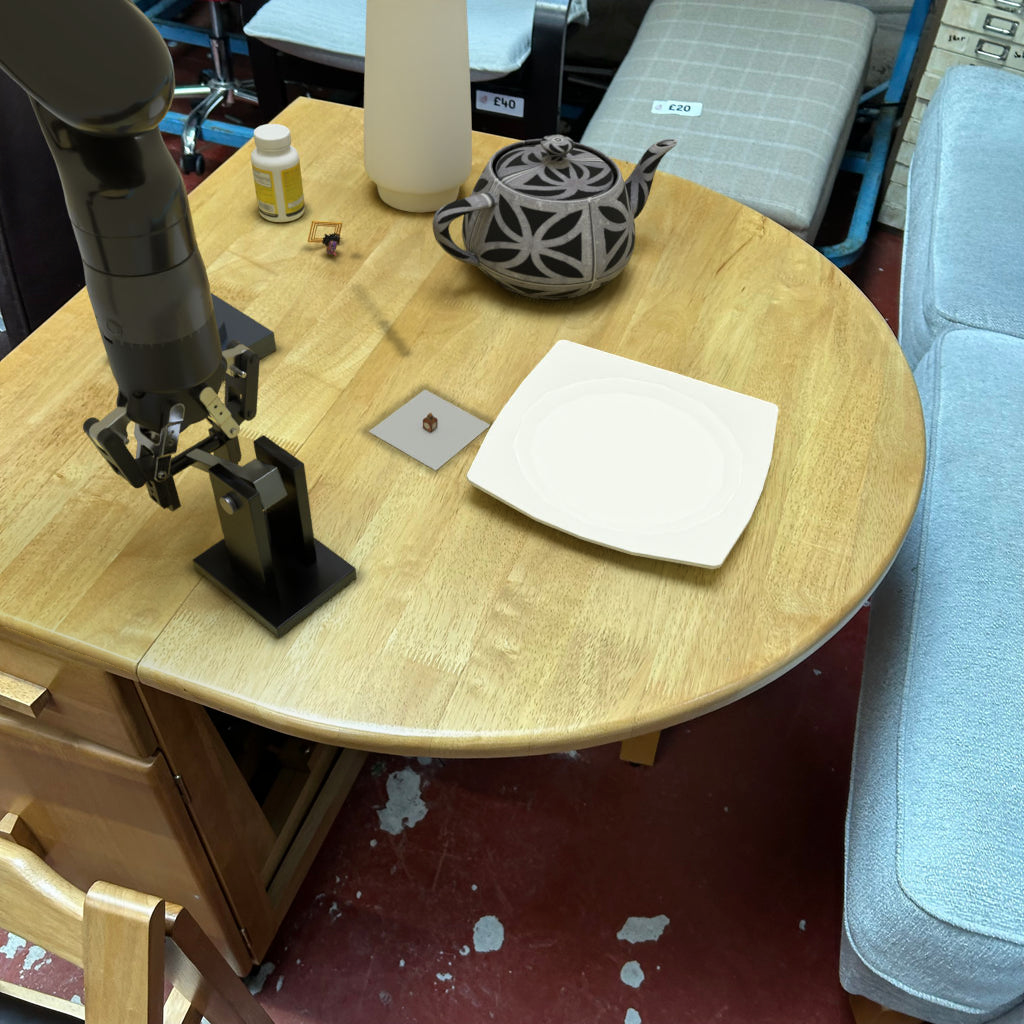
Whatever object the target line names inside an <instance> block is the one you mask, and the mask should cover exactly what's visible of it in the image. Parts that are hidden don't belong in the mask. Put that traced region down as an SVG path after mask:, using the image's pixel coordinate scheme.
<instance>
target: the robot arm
mask: <svg viewBox="0 0 1024 1024" xmlns="http://www.w3.org/2000/svg"><path fill="white" fill-rule="evenodd" d="M0 69H1V70H2V71H3V72H4V73H5V74H6V75H8V76H9V77H10V79H12V80H13V81H14V82H15V83H17V85H19V87H21V88H22V89H23V90H24V91H25V92H26V94H27V95H28V98H29V101H30V103H31V106H32V109H33V111H34V113H35V117H36V119H37V121H38V124H39V126H40V129H41V131H42V134H43V136H44V138H45V141H46V143H47V145H48V148H49V151H50V153H51V155H52V157H53V160H54V162H55V165H56V169H57V172H58V175H59V179H60V182H61V186H62V191H63V195H64V201H65V206H66V210H67V213H68V216H69V220H70V223H71V226H72V230H73V233H74V236H75V240H76V242H77V247H78V250H79V253H80V256H81V257H80V258H81V261H82V265H83V266H82V267H83V272H84V273H83V274H84V281H85V287H86V291H87V294H88V298H89V301H90V304H91V308H92V310H93V314H94V317H95V321H96V324H97V327H98V331H99V334H100V337H101V341H102V343H103V347H104V350H105V353H106V357H107V360H108V364H109V366H110V371H111V373H112V375H113V377H114V380H115V382H116V384H117V388H118V391H117V396H116V400H115V401H116V402H115V403H116V408H114V409H113V410H112V411H111V412H109V413H108V414H106V416H104V417H103V418H102V419H101V420H99V419H98V418H97V417H94V416H92V417H88V418H86V420H84V422H83V424H82V430H83V431H84V433H85V434H86V436H87V437H88V439H89V440H90V441H91V443H92V444H93V445H94V447H95V448H96V449H97V450H98V452H99V453H100V455H101V456H102V458H103V459H104V460H105V462H106V463H107V464H108V466H109V467H110V468H111V470H112V471H113V473H115V474H116V475H118V476H119V477H121V478H122V479H124V481H126V482H128V483H129V485H130V486H131V487H133V488H134V489H141V488H142V487H144V486H145V487H146V490H147V494H148V496H149V498H150V499H151V500H152V501H153V502H154V503H156V505H158V506H160V507H161V508H162V509H163V510H166V509H168V510H169V511H170V512H172V513H173V512H175V511H177V510H178V509H179V508H181V507H182V504H181V501H180V500H181V499H180V497H179V493H178V490H177V486H176V482H175V478H174V476H173V475H172V474H170V473H169V470H170V463H171V458H172V455H175V454H176V453H177V452H178V444H179V438H180V434H181V433H183V432H184V431H186V430H187V429H188V428H189V427H190V426H192V425H194V424H197V423H200V422H202V421H204V420H206V422H207V423H208V424H209V425H210V426H211V427H210V428H208V429H207V431H208V435H209V436H210V435H212V434H215V435H217V436H218V437H219V439H220V440H221V442H222V447H220V448H219V449H217V450H215V451H214V452H212V453H213V455H215V456H217V457H220V458H222V459H225V460H227V461H230V462H232V463H235V464H237V465H239V463H240V462H241V460H242V451H241V445H240V440H239V434H240V431H241V427H240V426H241V425H242V424H243V423H244V422H245V421H246V422H251V421H252V420H254V419H255V417H256V416H257V413H258V395H259V380H260V379H259V376H260V361H261V359H260V357H259V355H258V354H257V353H255V352H254V351H252V350H250V349H249V348H247V347H246V346H244V345H243V344H241V343H240V342H238V341H237V340H232V341H231V342H229V343H228V345H227V348H226V350H225V351H222V347H221V342H220V337H219V332H218V327H217V322H216V317H215V312H214V307H213V301H212V296H211V293H212V292H211V284H210V281H209V277H208V276H209V275H208V272H207V268H206V265H205V261H204V259H203V257H202V254H201V251H200V248H199V244H198V241H197V235H196V231H195V225H194V219H193V216H192V211H191V205H190V200H189V196H188V193H187V187H186V184H185V180H184V178H183V175H182V173H181V170H180V168H179V166H178V164H177V161H176V160H175V159H174V157H173V155H172V153H171V152H170V150H169V148H168V146H167V145H166V142H165V140H164V138H163V135H162V133H161V129H160V125H159V124H161V122H162V121H163V120H164V118H165V117H166V116H167V114H168V112H170V108H171V106H172V104H173V101H174V98H175V97H174V96H175V92H176V91H175V89H176V73H175V67H174V63H173V58H172V55H171V53H170V50H169V48H168V45H167V43H166V41H165V39H164V37H163V36H162V34H161V32H160V31H159V30H158V28H157V27H156V26H155V25H154V23H153V22H152V21H151V20H150V19H149V17H147V16H146V15H145V13H144V12H143V11H142V10H141V8H139V7H138V6H137V5H136V4H135V3H134V1H133V0H0ZM224 377H225V379H224ZM223 379H224V380H223ZM223 381H224V403H223V401H222V400H221V398H219V393H220V389H221V387H222V385H223ZM131 422H132V423H134V430H133V436H134V439H135V440H136V450H135V452H136V453H135V457H134V456H133V454H132V453H131V451H130V450H129V448H128V447H127V445H129V443H130V439H129V438H128V437H129V433H128V430H127V428H128V425H129V424H130V423H131Z"/></svg>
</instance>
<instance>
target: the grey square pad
mask: <svg viewBox="0 0 1024 1024" xmlns="http://www.w3.org/2000/svg"><path fill="white" fill-rule="evenodd" d="M489 427H491V424H489V423H488V422H486V421H484V420H482V419H480V418H478V417H476V416H475V415H473V414H471V413H470V412H467V411H466V410H464V409H463V408H461V407H458V406H456V405H454V404H453V403H451V402H449V401H447V400H446V399H443V398H441V397H440V396H438V395H436V394H434V393H433V392H430V391H429V390H427V389H423V390H422V391H421V392H419V393H418V394H417V395H415V396H414V397H412V398H411V399H410V400H409V401H407V402H406V403H405V404H403V405H402V406H400V407H399V408H398V409H397V410H396V411H394V412H393V413H391V414H390V415H389V416H388V417H386V418H385V419H384V420H381V422H379V423H378V424H377V425H375V426H374V427H372V428H371V429H370V430H369V431H368V432H369V433H370V434H372V435H374V436H376V437H377V438H379V439H381V440H382V441H384V442H386V443H388V444H389V445H391V446H393V447H394V448H396V449H398V450H400V451H402V452H403V453H405V454H407V455H408V456H410V457H411V458H413V459H415V460H416V461H418V462H420V463H421V464H424V465H425V466H427V467H429V468H430V469H432V470H433V471H437V470H438V469H440V468H441V467H443V465H445V464H446V463H447V462H448V461H449V460H450V459H452V458H453V457H455V455H456V454H458V453H459V452H460V451H461V450H462V449H464V448H465V447H466V446H468V445H469V444H470V443H471V442H472V441H474V439H476V438H477V437H478V436H479V435H481V434H482V433H483V432H484V431H485V430H487V429H488V428H489Z"/></svg>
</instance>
